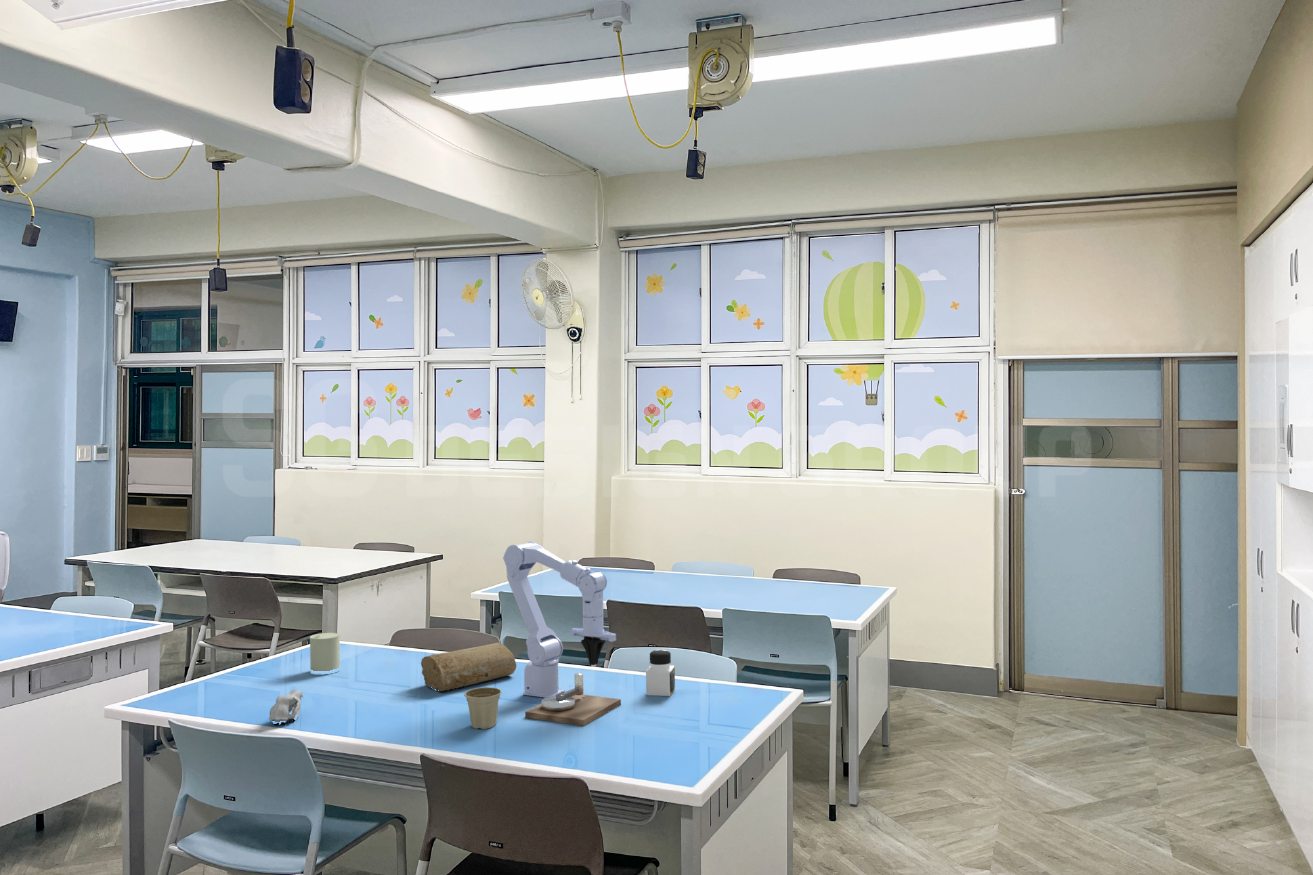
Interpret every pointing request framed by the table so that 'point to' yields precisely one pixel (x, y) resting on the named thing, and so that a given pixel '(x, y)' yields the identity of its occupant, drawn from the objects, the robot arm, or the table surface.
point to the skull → (286, 706)
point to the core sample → (467, 666)
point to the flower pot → (483, 706)
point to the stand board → (577, 710)
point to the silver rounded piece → (564, 697)
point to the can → (324, 651)
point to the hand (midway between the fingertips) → (593, 664)
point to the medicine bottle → (660, 674)
